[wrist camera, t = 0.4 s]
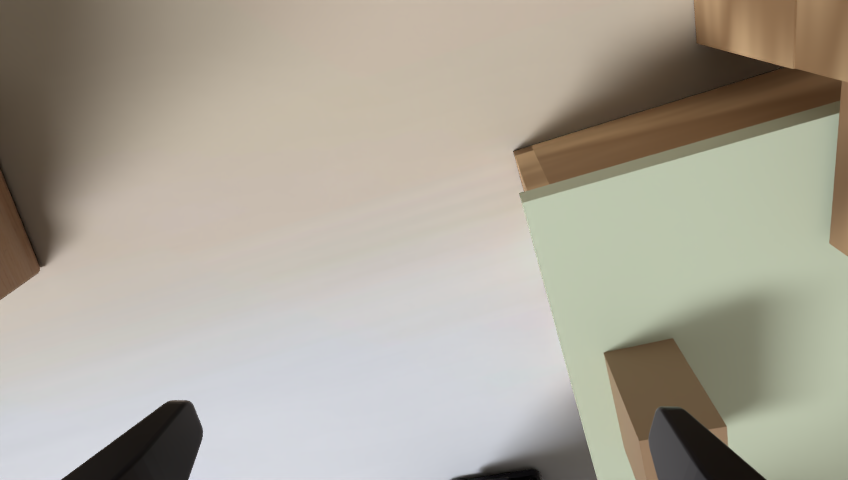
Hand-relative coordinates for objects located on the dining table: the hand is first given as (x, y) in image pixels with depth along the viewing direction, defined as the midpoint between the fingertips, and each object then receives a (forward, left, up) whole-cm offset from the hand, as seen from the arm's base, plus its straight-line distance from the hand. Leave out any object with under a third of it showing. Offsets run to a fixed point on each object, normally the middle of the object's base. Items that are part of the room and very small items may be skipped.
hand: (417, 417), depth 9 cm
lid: (-9, -9, -9) cm, 16 cm away
